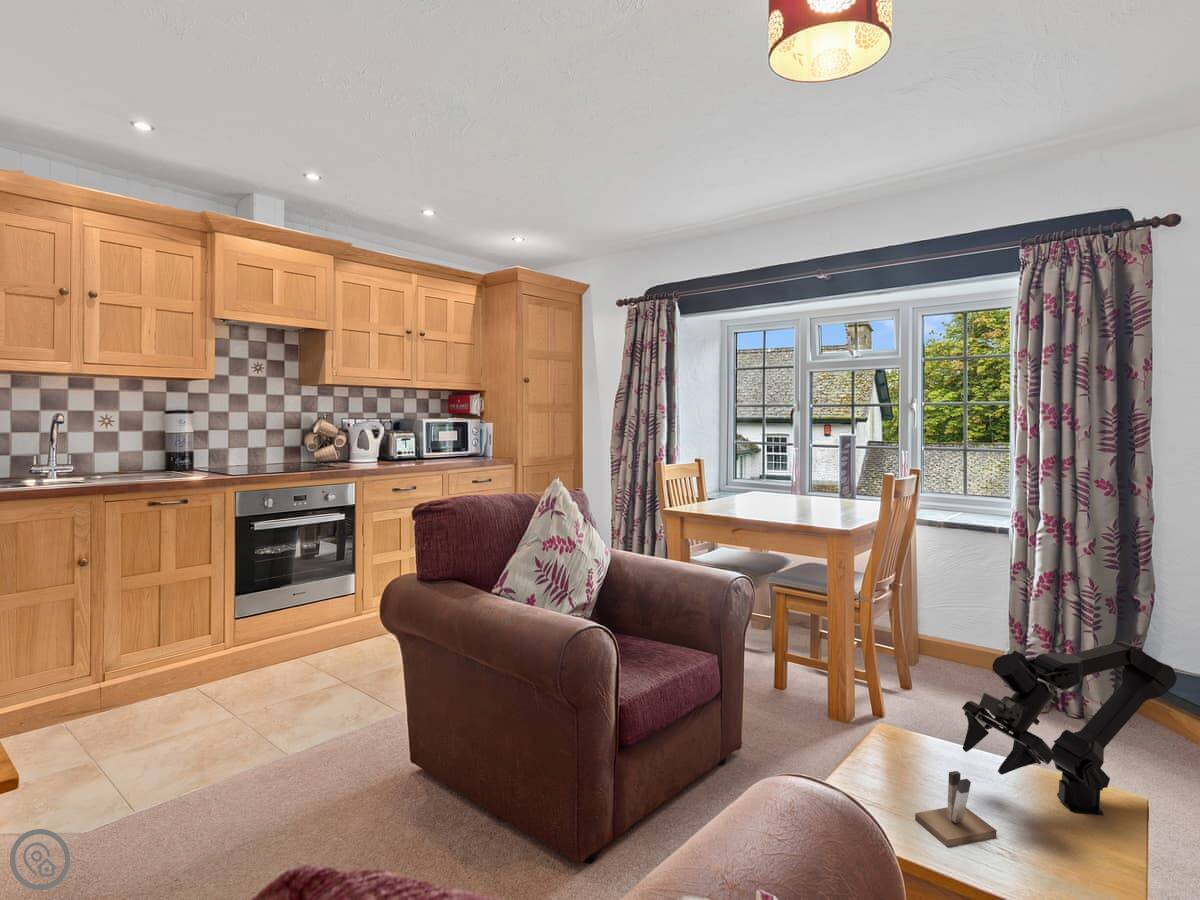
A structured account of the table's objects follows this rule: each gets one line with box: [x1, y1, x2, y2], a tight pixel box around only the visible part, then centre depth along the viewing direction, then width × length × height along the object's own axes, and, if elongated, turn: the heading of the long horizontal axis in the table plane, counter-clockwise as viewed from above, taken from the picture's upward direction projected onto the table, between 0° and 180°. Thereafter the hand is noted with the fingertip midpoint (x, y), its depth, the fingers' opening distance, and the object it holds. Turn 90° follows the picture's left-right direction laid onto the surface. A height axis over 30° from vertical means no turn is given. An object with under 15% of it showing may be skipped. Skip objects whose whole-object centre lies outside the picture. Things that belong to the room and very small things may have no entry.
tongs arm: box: [952, 778, 972, 823], centre depth 136 cm, size 2×1×10 cm, turn 105°
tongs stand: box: [914, 770, 998, 848], centre depth 138 cm, size 12×9×12 cm
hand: (981, 761), depth 140 cm, fingers open, 9 cm apart
